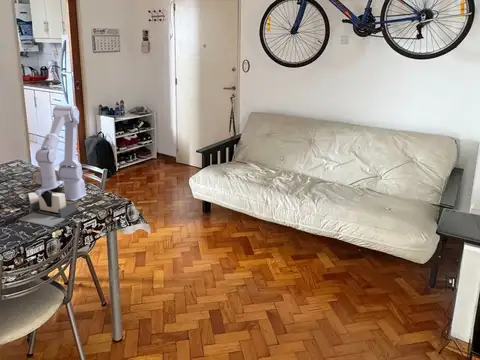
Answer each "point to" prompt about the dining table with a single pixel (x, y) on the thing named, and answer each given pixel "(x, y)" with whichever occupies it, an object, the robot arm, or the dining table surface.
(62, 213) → the frame
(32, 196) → the phone case
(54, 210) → the white rectangular block
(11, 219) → the dining table surface
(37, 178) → the tin
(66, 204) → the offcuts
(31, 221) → the mat
